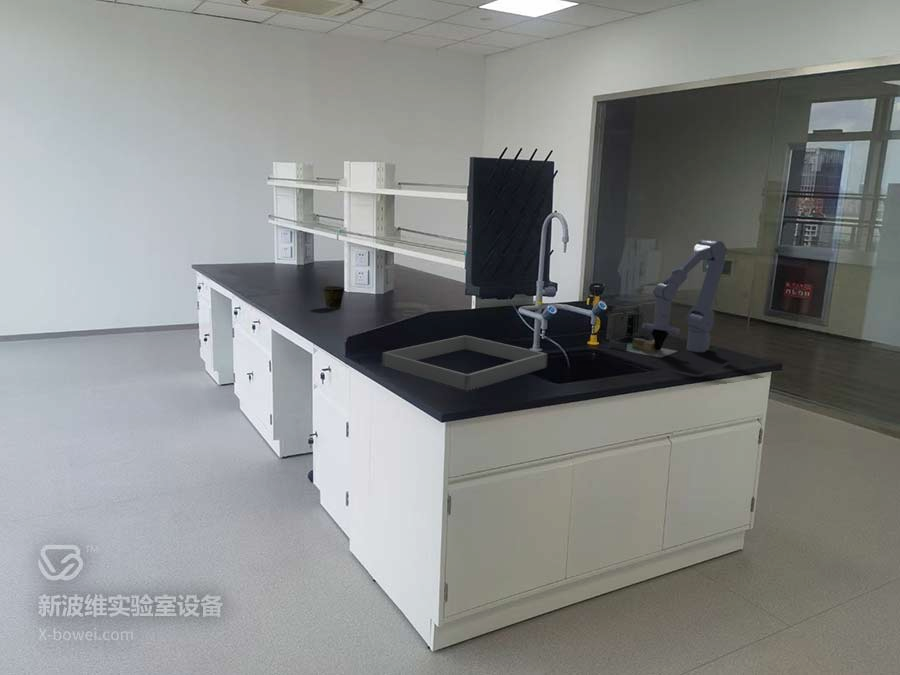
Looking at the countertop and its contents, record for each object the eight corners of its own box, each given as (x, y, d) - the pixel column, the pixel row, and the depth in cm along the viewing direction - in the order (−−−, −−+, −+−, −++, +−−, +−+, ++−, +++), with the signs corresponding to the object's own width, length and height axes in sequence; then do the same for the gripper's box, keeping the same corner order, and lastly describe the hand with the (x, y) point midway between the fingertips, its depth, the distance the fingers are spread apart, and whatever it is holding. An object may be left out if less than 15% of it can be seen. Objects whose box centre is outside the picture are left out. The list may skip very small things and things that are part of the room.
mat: (626, 343, 288) (626, 341, 287) (677, 353, 273) (678, 351, 273) (607, 349, 276) (607, 346, 275) (659, 360, 262) (660, 357, 261)
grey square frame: (464, 347, 268) (465, 335, 267) (546, 367, 245) (547, 353, 244) (381, 367, 236) (382, 352, 235) (466, 391, 213) (467, 375, 211)
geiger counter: (616, 308, 287) (654, 304, 302) (604, 305, 292) (643, 301, 307) (612, 341, 290) (651, 335, 305) (601, 338, 295) (639, 332, 310)
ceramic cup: (325, 305, 343) (325, 285, 341) (345, 306, 343) (345, 286, 341) (320, 310, 331) (320, 289, 329) (341, 311, 331) (341, 290, 329)
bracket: (626, 341, 287) (627, 335, 286) (643, 344, 282) (643, 338, 282) (608, 346, 275) (608, 341, 275) (625, 350, 271) (625, 344, 270)
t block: (638, 345, 280) (639, 336, 279) (660, 349, 274) (661, 341, 274) (628, 348, 273) (629, 340, 273) (649, 353, 268) (650, 344, 267)
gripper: (639, 313, 269) (636, 347, 272) (676, 319, 259) (672, 354, 262) (648, 311, 274) (644, 344, 277) (683, 316, 265) (679, 351, 268)
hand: (658, 349), depth 270 cm, fingers closed
